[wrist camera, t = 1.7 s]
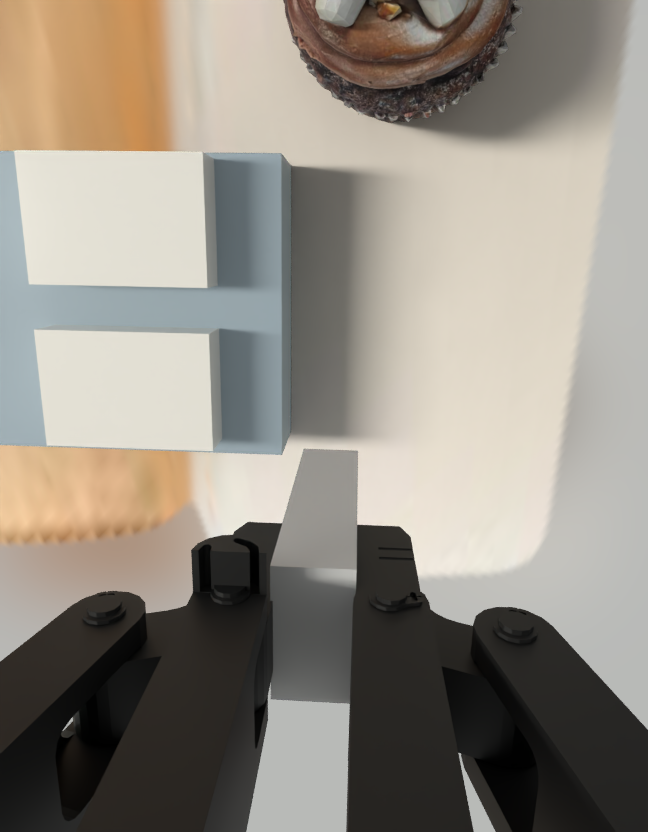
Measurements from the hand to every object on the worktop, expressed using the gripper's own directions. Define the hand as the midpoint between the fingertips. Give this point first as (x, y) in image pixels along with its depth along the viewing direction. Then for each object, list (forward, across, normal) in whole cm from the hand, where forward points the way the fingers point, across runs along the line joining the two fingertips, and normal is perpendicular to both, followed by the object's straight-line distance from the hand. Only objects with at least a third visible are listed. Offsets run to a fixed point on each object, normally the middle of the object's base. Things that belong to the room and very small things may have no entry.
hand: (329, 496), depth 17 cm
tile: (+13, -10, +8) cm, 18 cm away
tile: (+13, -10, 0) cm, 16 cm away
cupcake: (+17, +2, +17) cm, 24 cm away
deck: (+17, -11, +4) cm, 20 cm away
